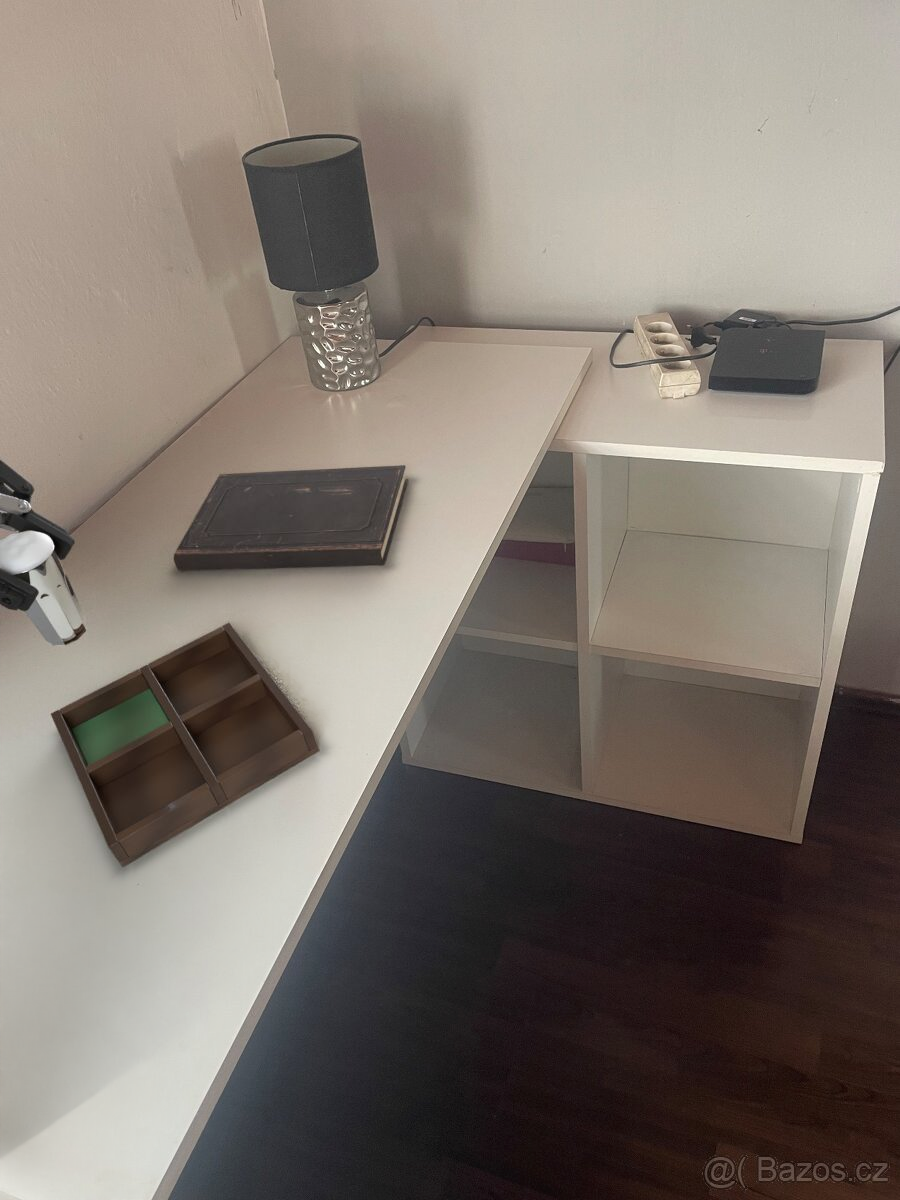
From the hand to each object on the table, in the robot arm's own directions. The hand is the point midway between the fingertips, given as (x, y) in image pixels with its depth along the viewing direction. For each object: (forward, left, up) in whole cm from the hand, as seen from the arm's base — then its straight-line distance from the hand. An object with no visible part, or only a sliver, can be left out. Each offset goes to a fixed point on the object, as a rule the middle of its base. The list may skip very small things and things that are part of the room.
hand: (51, 574), depth 64 cm
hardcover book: (+25, +19, -19) cm, 37 cm away
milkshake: (-1, +1, -6) cm, 7 cm away
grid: (+3, -3, -19) cm, 19 cm away
